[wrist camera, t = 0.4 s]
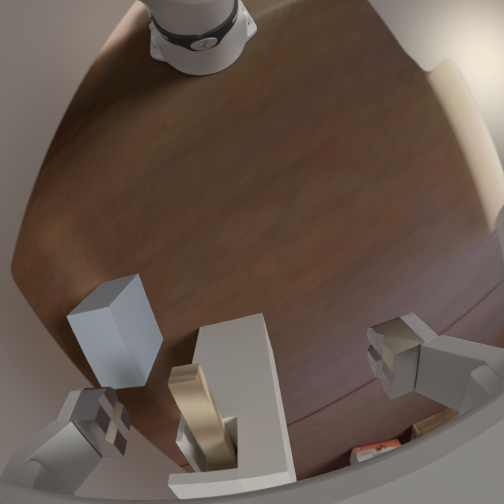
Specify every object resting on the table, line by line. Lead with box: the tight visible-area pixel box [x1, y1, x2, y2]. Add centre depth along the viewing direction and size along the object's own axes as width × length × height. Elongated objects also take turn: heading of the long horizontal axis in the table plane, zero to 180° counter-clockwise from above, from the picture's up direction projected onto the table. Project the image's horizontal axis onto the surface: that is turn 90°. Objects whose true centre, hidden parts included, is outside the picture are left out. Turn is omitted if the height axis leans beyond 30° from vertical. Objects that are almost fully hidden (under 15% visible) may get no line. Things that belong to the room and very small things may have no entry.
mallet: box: [167, 363, 238, 472], centre depth 31 cm, size 18×4×4 cm, turn 14°
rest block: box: [67, 274, 163, 389], centre depth 50 cm, size 14×8×15 cm, turn 14°
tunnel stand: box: [168, 313, 296, 499], centre depth 42 cm, size 10×12×36 cm
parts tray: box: [411, 408, 459, 441], centre depth 68 cm, size 24×20×8 cm
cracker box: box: [349, 439, 401, 465], centre depth 61 cm, size 14×6×21 cm, turn 90°
